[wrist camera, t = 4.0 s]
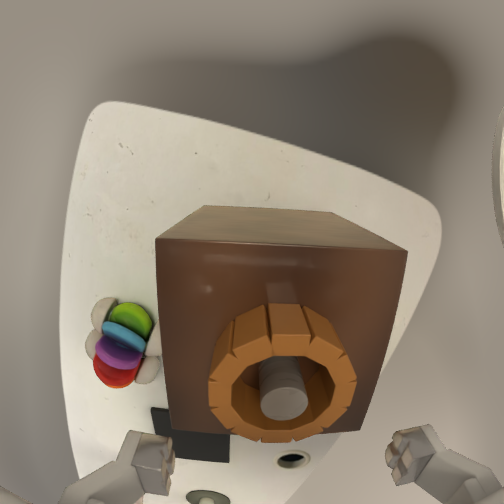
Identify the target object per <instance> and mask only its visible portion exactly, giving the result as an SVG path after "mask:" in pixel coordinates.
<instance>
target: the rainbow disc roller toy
mask: <svg viewBox="0 0 504 504" xmlns="http://www.w3.org/2000/svg"><path fill="white" fill-rule="evenodd" d="M91 320H92V324H93V326H94V328H95V329H94V330H92V331H91V332H90V334H89V335H88V337H87V339H86V342H85V348H86V352H87V354H88V356H89V357H90V358H91V359H92V360H93V367H94V370H95V373H96V375H97V376H98V378H99V379H100V380H101V381H102V382H103V383H104V384H105V385H107V386H109V387H112V388H123V387H126V386H128V385H129V384H131V383H132V382H133V380H135V383H137V384H148V383H151V382H152V381H153V380H154V378H155V376H156V374H157V371H158V369H159V366H160V364H159V361H158V358H157V357H156V356H159V355H161V354H162V348H161V338H160V326H159V320H158V321H157V323H156V325H155V327H154V329H153V332H152V334H151V336H150V331H151V329H152V322H151V319H150V317H149V316H148V314H147V313H146V312H145V310H144V309H143V308H141V307H140V306H139V305H136V304H134V303H128V302H127V303H122V304H119V305H118V306H117V300H116V299H115V298H103V299H101V300H99V301H98V302H97V303H96V304H95V306H94V308H93V310H92V313H91ZM149 337H150V339H149ZM143 352H144V353H145V355H146V356H145V358H141V357H142V356H143Z"/></svg>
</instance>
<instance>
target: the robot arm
mask: <svg viewBox="0 0 504 504" xmlns="http://www.w3.org/2000/svg"><path fill="white" fill-rule="evenodd" d="M392 439H393V441H392V442H391V443H390V444H389V445H388V446H387V449H386V452H385V459H386V463H387V466H388V467H390V468H392V469H393V471H392V473H391V475H392V477H393V480H394V482H395V484H396V486H399V485H403V484H407V483H411V482H415V483H416V484H417V485H418V486H420V487H421V488H422V489H424V490H425V491H426V492H428V493H429V494H430V495H432V496H433V497H435V498H436V499H437V500H439V501H440V502H441V503H443V504H504V487H502V486H501V484H500V483H499V481H498V480H497V478H496V477H495V475H494V473H493V472H492V470H491V469H490V468H488V467H486V466H484V465H481V464H479V463H477V462H475V461H473V460H471V459H469V458H467V457H465V456H463V455H461V454H459V453H457V452H454V451H453V450H451V449H448V450H447V449H446V447H445V446H444V444H443V443H442V441H441V440H440V438H439V436H438V435H437V433H436V432H435V430H434V429H433V427H432V426H431V425H429V424H427V425H423V426H419V427H414V428H409V429H405V430H400V431H396V432H395V433H394V434H393V437H392ZM172 444H173V443H172V438H171V437H165V436H160V435H154V434H149V433H144V432H138V431H133V430H130V431H129V432H128V433H127V435H126V437H125V440H124V442H123V445H122V447H121V449H120V452H119V454H118V457H117V459H116V462H115V461H111V462H109V463H108V464H106V465H104V466H103V467H101V468H99V469H98V470H96V471H94V472H92V473H91V474H89V475H87V476H86V477H84V478H82V479H80V480H79V481H77V482H75V483H73V484H71V485H70V486H68V487H66V488H65V490H64V492H63V494H62V496H61V498H60V500H59V502H58V504H134V503H135V502H136V501H137V500H139V499H140V498H141V497H142V496H143V495H144V494H145V493H151V494H157V495H164V496H168V495H169V491H170V486H171V479H170V475H172V474H173V472H174V467H175V453H174V450H173V449H171V448H172ZM0 504H32V503H30V502H28V501H27V500H25V499H23V498H21V497H19V496H17V495H15V494H13V493H12V492H10V491H8V490H6V489H5V488H3V487H1V486H0Z"/></svg>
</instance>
